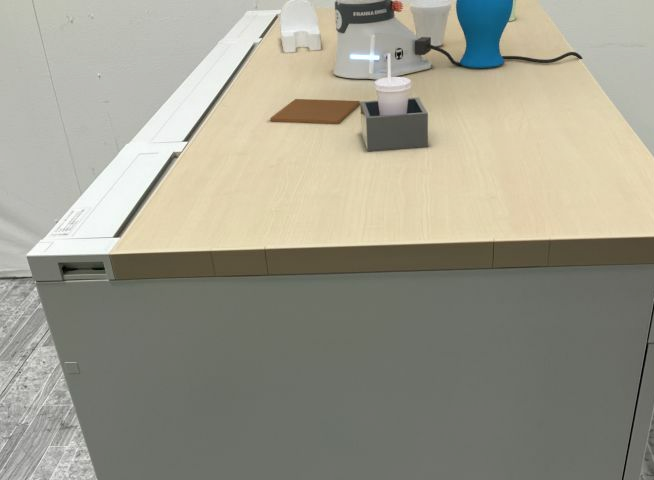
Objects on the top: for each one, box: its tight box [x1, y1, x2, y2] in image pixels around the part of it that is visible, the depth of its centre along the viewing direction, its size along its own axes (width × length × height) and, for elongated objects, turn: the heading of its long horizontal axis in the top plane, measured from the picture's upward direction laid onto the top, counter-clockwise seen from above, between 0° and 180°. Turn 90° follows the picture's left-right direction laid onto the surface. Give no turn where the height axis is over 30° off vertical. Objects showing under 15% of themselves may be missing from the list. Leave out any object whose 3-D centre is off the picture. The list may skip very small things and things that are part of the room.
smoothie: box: [373, 53, 412, 116], centre depth 143 cm, size 6×6×14 cm
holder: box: [359, 96, 429, 152], centre depth 146 cm, size 11×11×6 cm
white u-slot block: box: [279, 0, 322, 53], centre depth 212 cm, size 10×18×10 cm, turn 6°
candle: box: [508, 0, 517, 22], centre depth 224 cm, size 5×5×8 cm
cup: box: [409, 0, 452, 48], centre depth 203 cm, size 10×10×9 cm
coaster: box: [270, 98, 361, 125], centre depth 164 cm, size 14×14×1 cm
